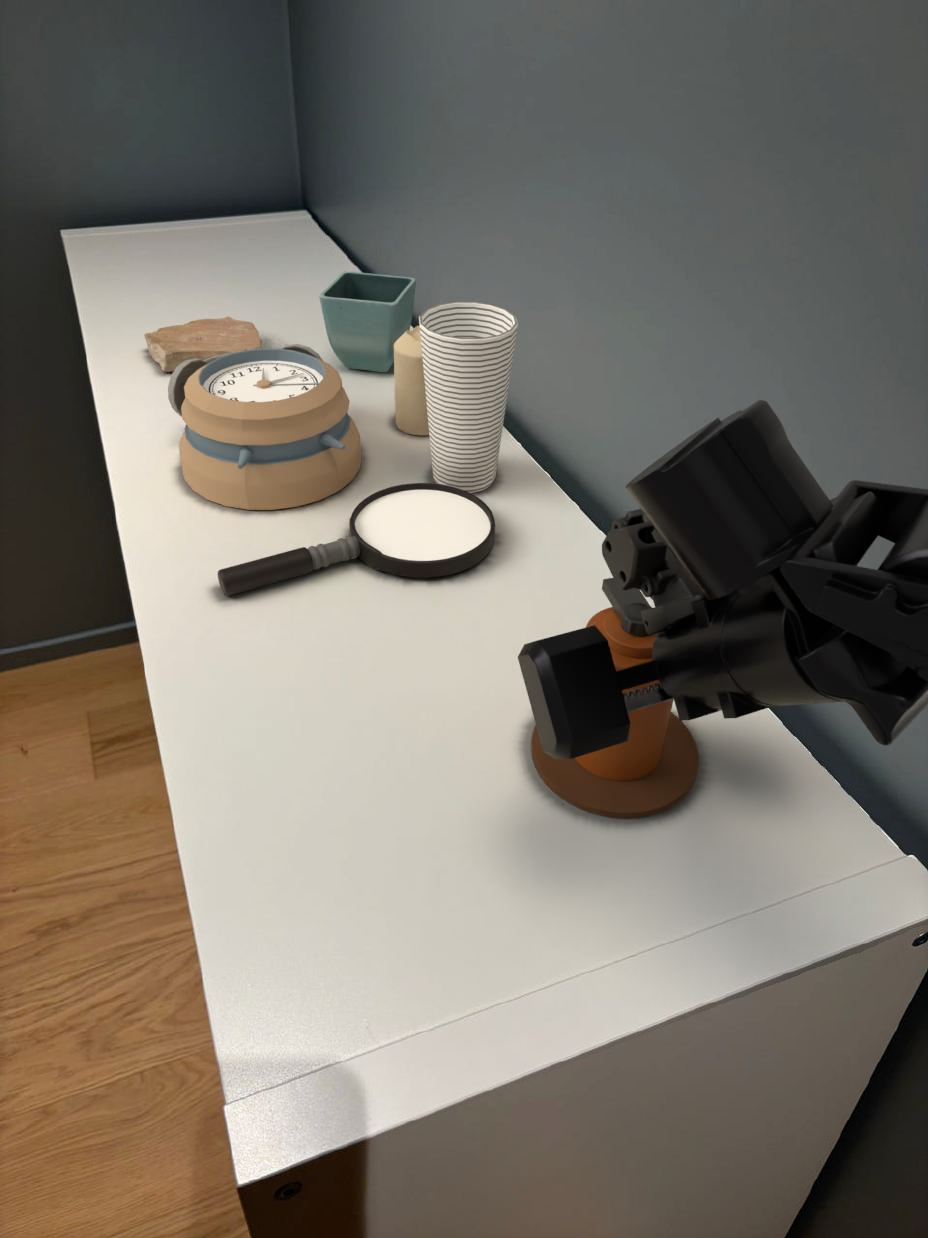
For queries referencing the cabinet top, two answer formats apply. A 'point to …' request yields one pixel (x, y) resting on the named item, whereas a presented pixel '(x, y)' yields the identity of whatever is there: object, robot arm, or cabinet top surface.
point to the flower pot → (367, 317)
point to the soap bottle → (647, 723)
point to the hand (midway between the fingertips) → (621, 670)
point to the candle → (410, 384)
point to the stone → (201, 340)
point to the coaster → (625, 796)
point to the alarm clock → (264, 428)
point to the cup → (466, 388)
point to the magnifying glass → (389, 538)
